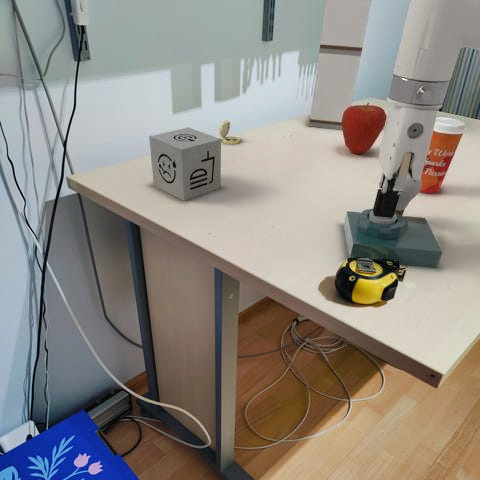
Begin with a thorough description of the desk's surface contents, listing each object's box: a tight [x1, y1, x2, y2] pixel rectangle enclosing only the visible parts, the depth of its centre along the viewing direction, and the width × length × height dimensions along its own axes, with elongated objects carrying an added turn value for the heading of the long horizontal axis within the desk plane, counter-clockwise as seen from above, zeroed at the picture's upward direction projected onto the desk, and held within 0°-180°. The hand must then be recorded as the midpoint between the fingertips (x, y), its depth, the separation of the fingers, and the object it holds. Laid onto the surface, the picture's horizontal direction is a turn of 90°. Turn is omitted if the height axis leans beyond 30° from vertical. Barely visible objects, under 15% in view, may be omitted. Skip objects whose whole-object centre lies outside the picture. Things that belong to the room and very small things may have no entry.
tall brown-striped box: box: [308, 0, 373, 131], centre depth 121 cm, size 11×11×35 cm
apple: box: [342, 102, 388, 155], centre depth 108 cm, size 11×11×12 cm
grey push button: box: [368, 210, 397, 225], centre depth 71 cm, size 4×4×2 cm
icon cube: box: [148, 127, 222, 202], centre depth 86 cm, size 10×10×10 cm
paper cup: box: [419, 116, 467, 195], centre depth 90 cm, size 8×8×14 cm
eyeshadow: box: [218, 120, 240, 145], centre depth 113 cm, size 4×5×5 cm
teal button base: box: [343, 208, 443, 268], centre depth 72 cm, size 14×12×5 cm
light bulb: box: [395, 173, 422, 216], centre depth 78 cm, size 6×6×10 cm
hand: (382, 214), depth 70 cm, fingers closed
